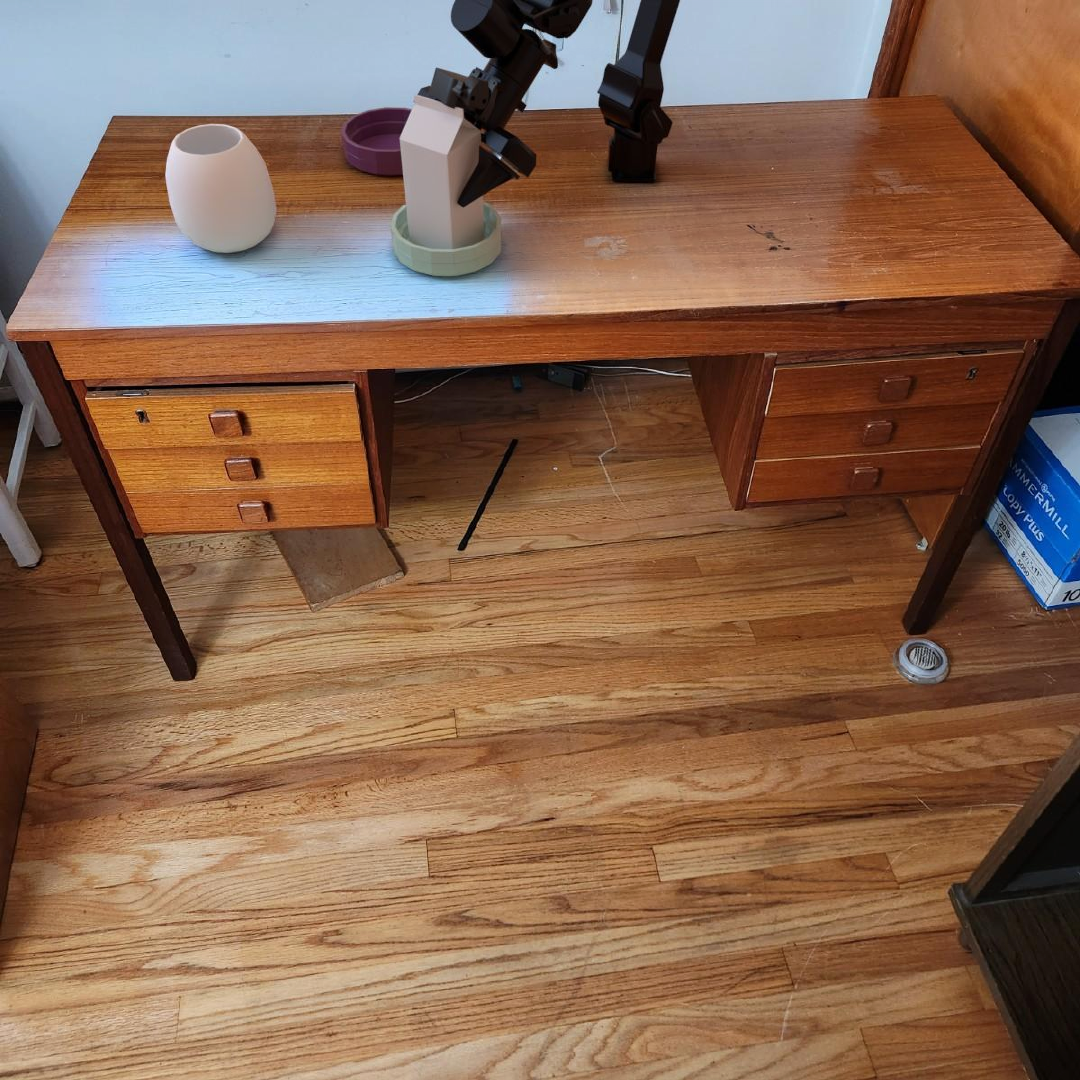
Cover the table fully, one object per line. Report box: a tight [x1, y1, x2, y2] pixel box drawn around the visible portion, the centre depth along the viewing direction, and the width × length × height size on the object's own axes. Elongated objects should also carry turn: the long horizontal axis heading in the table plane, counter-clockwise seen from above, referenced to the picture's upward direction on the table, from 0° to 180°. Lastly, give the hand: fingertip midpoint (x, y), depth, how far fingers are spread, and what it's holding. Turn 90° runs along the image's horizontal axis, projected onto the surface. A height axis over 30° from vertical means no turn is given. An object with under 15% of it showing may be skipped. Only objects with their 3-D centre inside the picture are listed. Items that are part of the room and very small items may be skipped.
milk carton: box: [400, 93, 484, 249], centre depth 120 cm, size 7×7×19 cm
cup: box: [164, 123, 278, 254], centre depth 123 cm, size 13×13×14 cm
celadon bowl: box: [390, 200, 502, 277], centre depth 126 cm, size 14×14×4 cm
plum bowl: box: [340, 106, 412, 177], centre depth 143 cm, size 14×14×4 cm
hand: (438, 190), depth 121 cm, fingers open, 9 cm apart
